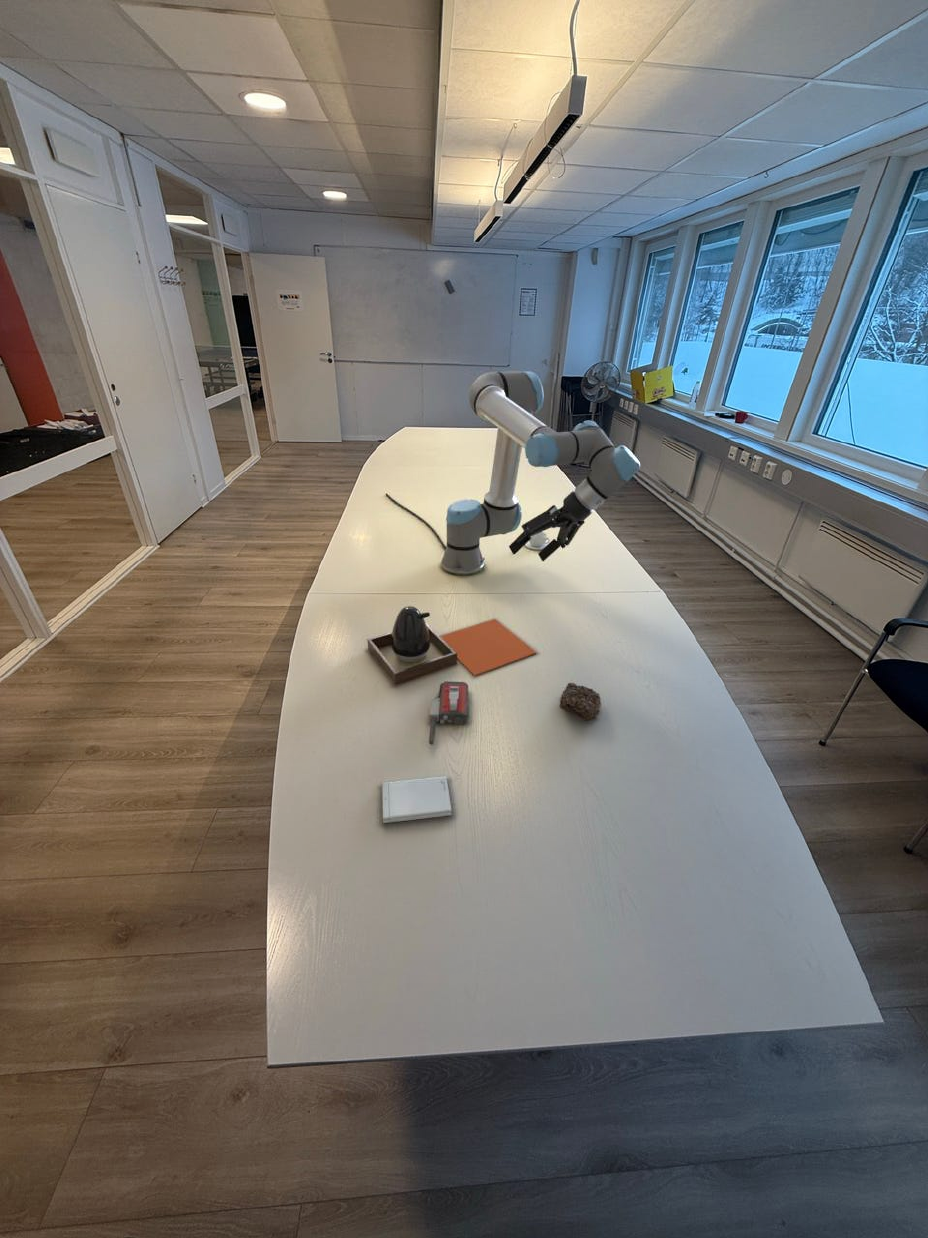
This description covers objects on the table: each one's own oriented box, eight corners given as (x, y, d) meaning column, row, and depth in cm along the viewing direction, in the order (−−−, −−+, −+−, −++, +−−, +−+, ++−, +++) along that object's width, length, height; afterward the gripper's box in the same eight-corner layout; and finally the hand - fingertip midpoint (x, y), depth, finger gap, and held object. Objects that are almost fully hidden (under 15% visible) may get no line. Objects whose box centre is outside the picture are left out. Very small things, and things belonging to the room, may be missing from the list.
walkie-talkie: (433, 687, 123) (425, 748, 106) (432, 673, 120) (425, 733, 103) (468, 688, 123) (467, 749, 105) (469, 674, 120) (467, 734, 103)
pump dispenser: (425, 670, 128) (424, 620, 120) (386, 665, 130) (383, 615, 122) (435, 648, 137) (434, 600, 129) (399, 643, 138) (396, 595, 131)
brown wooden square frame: (368, 649, 136) (367, 639, 134) (425, 632, 144) (425, 622, 142) (395, 685, 123) (394, 674, 121) (456, 664, 131) (457, 653, 129)
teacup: (521, 547, 197) (522, 536, 195) (528, 539, 205) (529, 528, 203) (545, 552, 194) (547, 541, 192) (551, 543, 202) (553, 532, 199)
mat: (436, 638, 141) (436, 637, 141) (494, 620, 150) (494, 618, 150) (474, 676, 127) (474, 675, 127) (536, 653, 136) (536, 652, 136)
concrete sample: (591, 731, 111) (595, 713, 108) (549, 713, 115) (552, 697, 113) (608, 702, 119) (612, 685, 117) (568, 687, 124) (571, 671, 121)
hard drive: (446, 775, 98) (382, 781, 96) (451, 810, 91) (382, 818, 89) (446, 781, 98) (382, 787, 97) (451, 816, 91) (383, 824, 90)
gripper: (564, 500, 116) (504, 558, 128) (614, 520, 134) (557, 570, 146) (549, 477, 119) (492, 536, 131) (600, 500, 138) (545, 550, 149)
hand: (526, 554), depth 138 cm, fingers open, 13 cm apart
